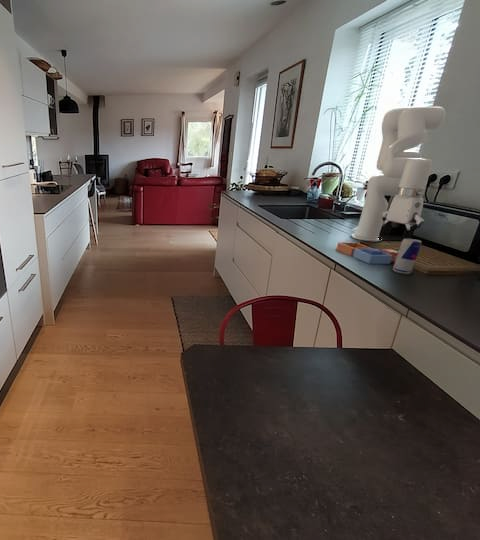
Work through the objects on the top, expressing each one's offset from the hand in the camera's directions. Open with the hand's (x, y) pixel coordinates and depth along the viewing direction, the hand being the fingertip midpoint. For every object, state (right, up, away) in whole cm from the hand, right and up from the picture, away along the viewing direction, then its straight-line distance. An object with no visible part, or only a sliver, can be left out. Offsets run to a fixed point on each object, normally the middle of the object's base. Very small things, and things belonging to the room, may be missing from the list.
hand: (395, 237), depth 129 cm
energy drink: (-6, -14, -9) cm, 18 cm away
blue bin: (-7, -9, +3) cm, 12 cm away
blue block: (-7, -9, +3) cm, 12 cm away
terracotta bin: (-8, -5, +13) cm, 16 cm away
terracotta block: (0, -9, +4) cm, 10 cm away
